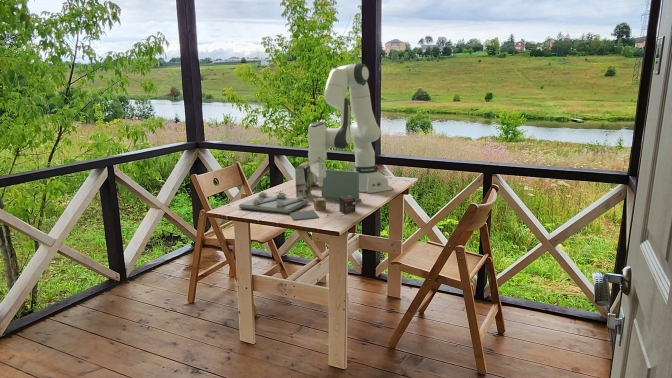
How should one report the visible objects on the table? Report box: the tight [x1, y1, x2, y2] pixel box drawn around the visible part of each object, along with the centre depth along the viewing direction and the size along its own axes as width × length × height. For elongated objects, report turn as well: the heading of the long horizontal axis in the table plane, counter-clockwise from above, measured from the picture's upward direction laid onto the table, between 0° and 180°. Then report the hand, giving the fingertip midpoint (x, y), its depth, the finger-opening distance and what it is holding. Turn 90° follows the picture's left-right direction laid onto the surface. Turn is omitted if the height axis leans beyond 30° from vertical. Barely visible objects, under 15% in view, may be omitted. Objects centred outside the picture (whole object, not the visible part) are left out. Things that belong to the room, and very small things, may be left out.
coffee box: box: [294, 165, 312, 198], centre depth 267 cm, size 9×6×16 cm
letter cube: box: [313, 197, 327, 212], centre depth 239 cm, size 5×5×5 cm
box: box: [338, 196, 356, 215], centre depth 233 cm, size 6×6×7 cm
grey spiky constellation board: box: [238, 190, 310, 214], centre depth 246 cm, size 30×22×7 cm
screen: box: [319, 168, 362, 205], centre depth 254 cm, size 22×6×16 cm, turn 60°
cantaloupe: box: [299, 161, 319, 187], centre depth 291 cm, size 15×15×15 cm
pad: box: [288, 209, 320, 221], centre depth 229 cm, size 12×12×1 cm
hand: (318, 184), depth 237 cm, fingers open, 8 cm apart
